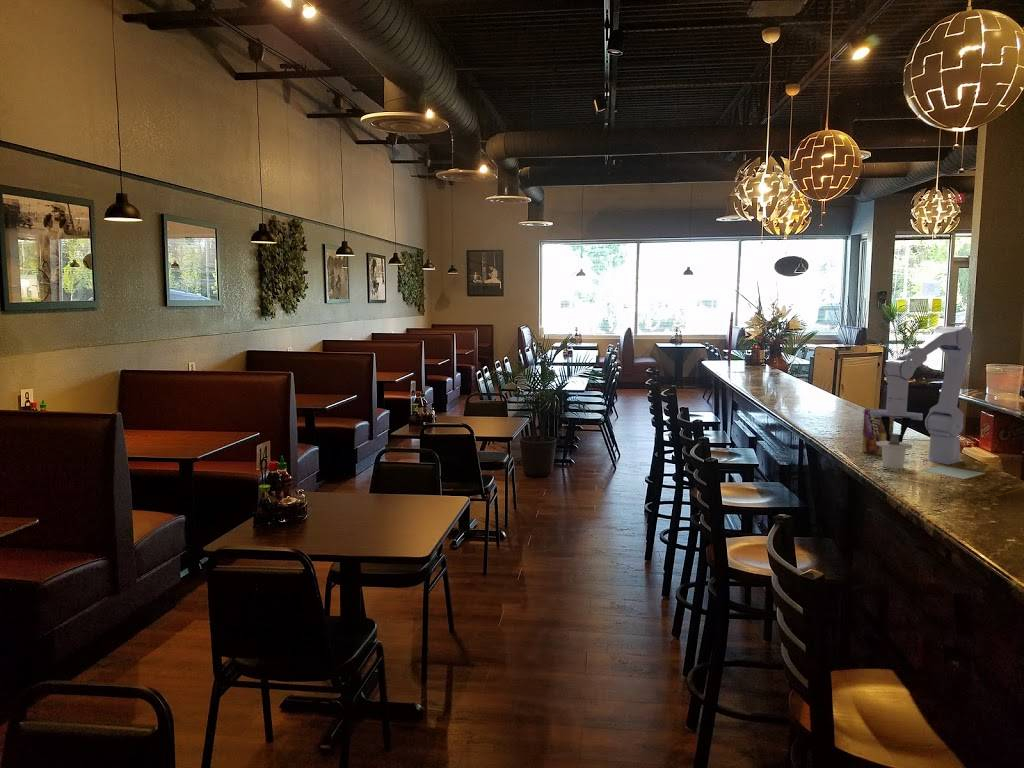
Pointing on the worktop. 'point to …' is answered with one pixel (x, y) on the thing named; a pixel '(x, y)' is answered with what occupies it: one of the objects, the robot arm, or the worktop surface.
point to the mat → (952, 472)
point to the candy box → (874, 432)
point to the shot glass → (893, 457)
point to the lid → (894, 443)
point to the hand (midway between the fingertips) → (894, 441)
